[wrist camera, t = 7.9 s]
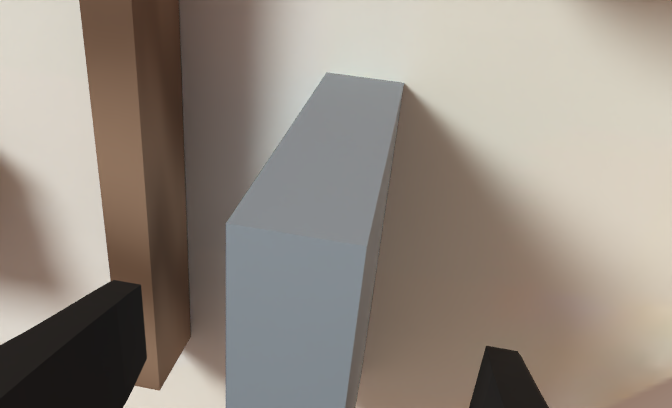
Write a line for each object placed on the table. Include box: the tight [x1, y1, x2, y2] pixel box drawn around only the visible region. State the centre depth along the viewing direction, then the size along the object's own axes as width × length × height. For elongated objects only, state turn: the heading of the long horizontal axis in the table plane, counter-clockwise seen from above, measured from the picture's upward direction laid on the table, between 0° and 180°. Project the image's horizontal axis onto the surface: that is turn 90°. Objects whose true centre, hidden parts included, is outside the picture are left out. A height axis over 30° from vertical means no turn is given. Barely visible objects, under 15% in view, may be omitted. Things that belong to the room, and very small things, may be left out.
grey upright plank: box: [226, 73, 404, 408], centre depth 14 cm, size 2×10×8 cm, turn 175°
